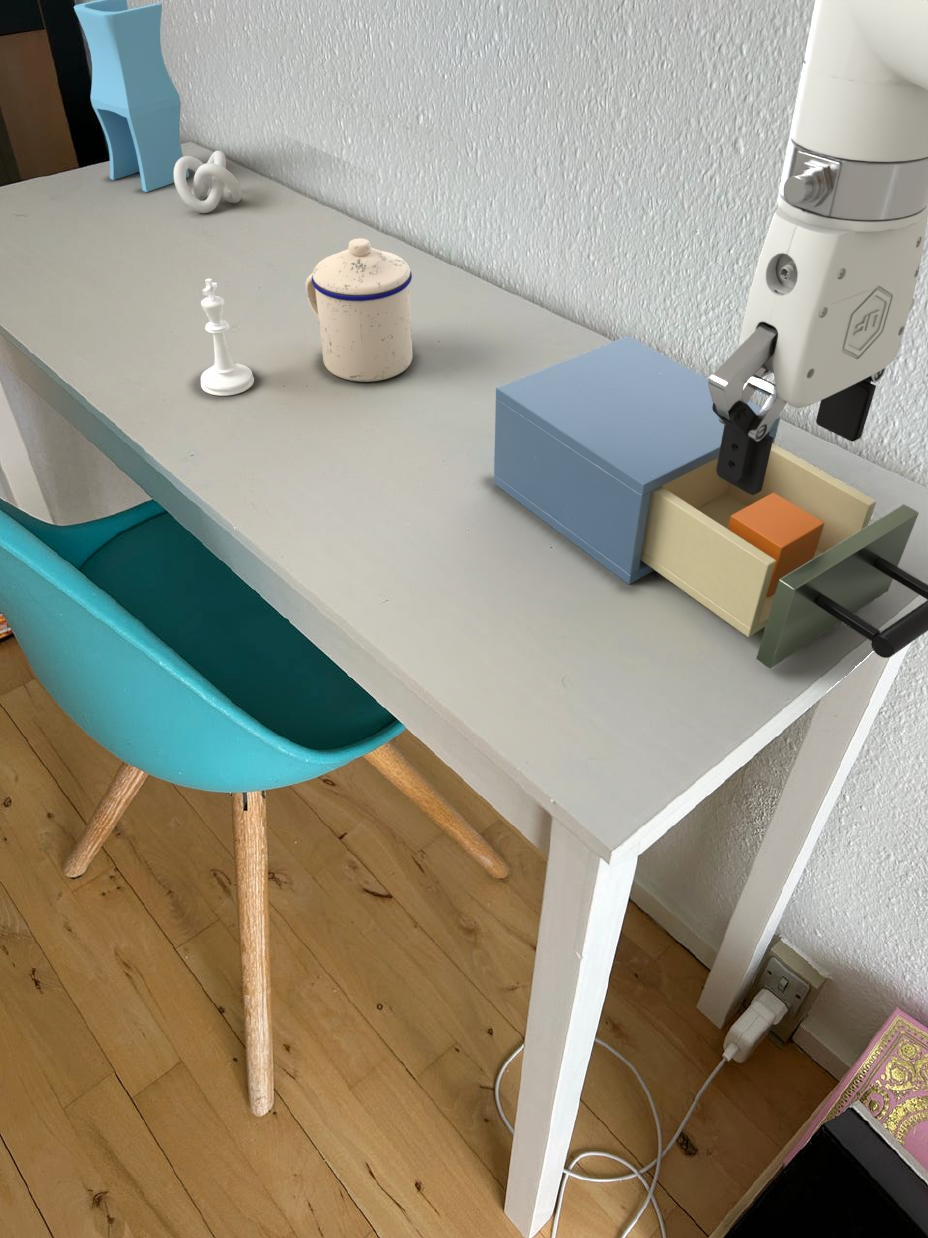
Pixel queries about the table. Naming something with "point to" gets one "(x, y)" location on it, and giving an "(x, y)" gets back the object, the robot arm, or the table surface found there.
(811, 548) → the matte orange cube
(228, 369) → the chess piece
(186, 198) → the knot
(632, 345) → the drawer cabinet
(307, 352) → the table surface
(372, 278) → the teacup with lid
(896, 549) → the drawer
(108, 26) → the vase
